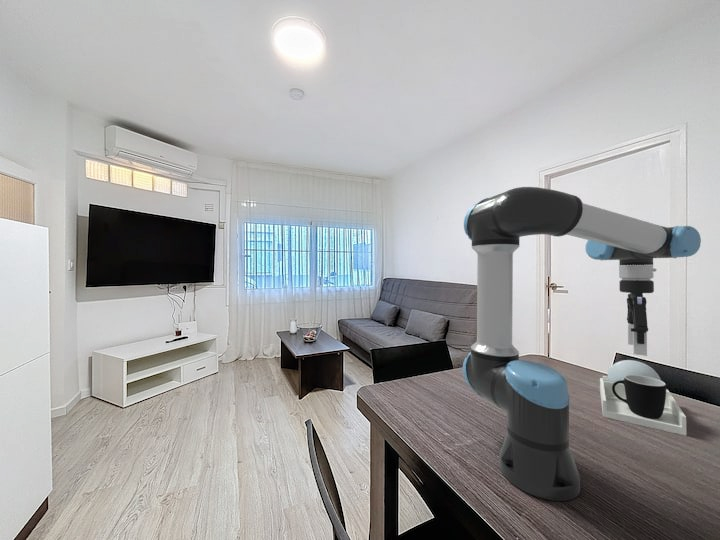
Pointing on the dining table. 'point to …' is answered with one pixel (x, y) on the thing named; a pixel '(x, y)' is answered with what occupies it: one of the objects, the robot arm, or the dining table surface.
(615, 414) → the dish rack
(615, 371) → the plate in rack
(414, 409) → the dining table surface
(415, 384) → the dining table surface
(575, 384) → the dining table surface
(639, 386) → the mug
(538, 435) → the robot arm
